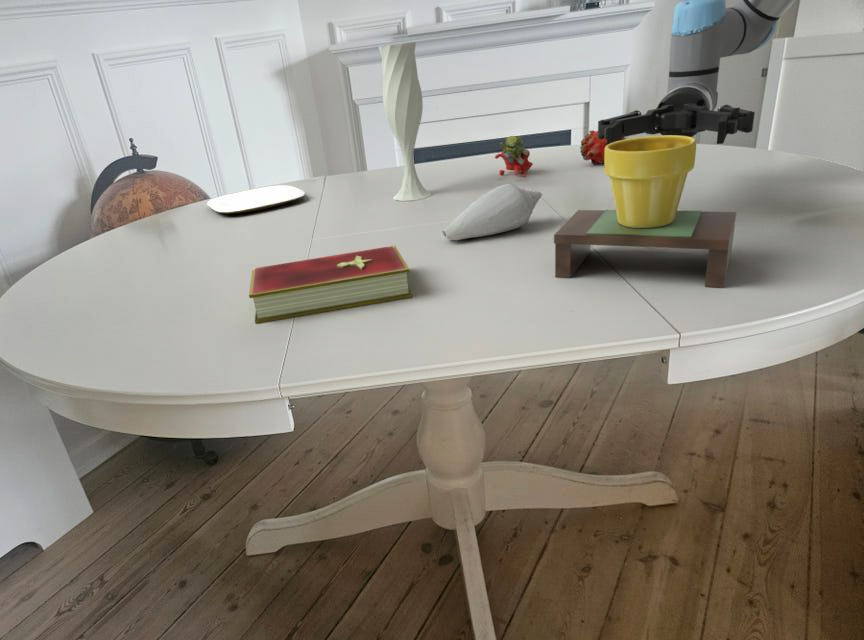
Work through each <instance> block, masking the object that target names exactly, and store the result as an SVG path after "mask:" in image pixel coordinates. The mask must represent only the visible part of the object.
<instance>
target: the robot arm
mask: <svg viewBox="0 0 864 640" xmlns="http://www.w3.org/2000/svg"><path fill="white" fill-rule="evenodd" d="M796 1H797V0H735V1H734V2H733V3H732V4H731V5H730V6H729V7H727V6H726V0H681V1H679V2H678V3H677V4H676V6H675V7H674V10H673V18H672V26H671V28H670V34H671V35H670V50H669V66H668V78H667V81H668V82H667V92H666V95H665V96H663V98H661V100H660V101H659V103H658V104H657V106H656V108H653V109H649V110H647V111H646V113H645V114H642V112H641V111H640V110H637V109H636V110H633V111H631V112H629V113H625V114H621V115H617V116H613V117H608V118H605V119H600V120H598V121H597V131H598V139H607V145H608V144H610V143H613V142H616V141H620V140H622V137H625V138H626V137H630V136H636V135H641V134H646V135H658V134H660V136H661V135H677V136H688V137H692V138H693V137H694V136H695V135H697V134H698V133H703V132H706V131H708V132H716V133H717V137H716V145H723V144H724V143H725V141H726V139H727V136H728V135H734V134H737V133H738V132H742V133H745V134H748V133H751V132H752V133H753V130H754V129H753V128H754V121H755V115H756V114H755V113H756V111H752V110H747V109H742V108H741V107H733V106H731V105H729V104H724V105H721V106H718V107H717V105H718V98H719V92H718V82H719V71H720V63H721V58H727V57H732V56H737V55H744V54H745V55H746V54H749V53H752V52H754V51H756V50H758V49H760V48H761V47H764V46H765V45H766V44H767V43H768V42H769V41H770V40H771V38H772V37H773V36H774V33H775V30H776V28H777V23H778V20H780V18H781V17H782V16H783V15H785V13H786V12H787V11H788V10H789V8H790V7H791V6H792V5H793V4H794V3H795V2H796ZM716 108H717V110H715V109H716Z"/></svg>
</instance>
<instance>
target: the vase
mask: <svg viewBox="0 0 864 640" xmlns="http://www.w3.org/2000/svg"><path fill="white" fill-rule="evenodd" d="M416 45H417V42H416V41H411V42H405V43H397V44H391V45H381V46H378V50H379V52H380V55H381V68H382V79H383V81H382V104H383V110H384V113H385V116H386V117H385V118H386V120H387V122H388V125H389V127H390V130H391V132H392V134H393V136H394V138H395V140H396V142H397V144H398V146H399V149H400V150H401V154H402V159H403V163H404V164H403V178H402V184H401V186H400V188H399V191H398V192H397V193H396V194H395V195H394V196H393V201H398V202H408V201H418V200H423V199H426V198H428V197H430V196H432V192H431V191H429V190H427V189H426V188H425V187H424V185H423V184H422V183H421V181H420V179H419V176H418V173H417V170H416V167H415V159H414V157H415V154H414V152H415V146H416V142H417V137H418V133H419V130H420V129H419V128H420V125H421V122H422V117H423V107H424V105H423V104H424V102H423V94H422V93H423V92H422V88H421V83H420V80H419V75H418V67H417V60H416V54H415V53H416Z"/></svg>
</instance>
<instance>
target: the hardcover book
mask: <svg viewBox="0 0 864 640" xmlns="http://www.w3.org/2000/svg"><path fill="white" fill-rule="evenodd" d="M410 272H411V270H410V267H409V265H407V262H406V261H405V259H404V258H403V256H402V255H401V252H400V251H399V250H398V248H397V246H396V245H390V246H389V245H388V246H384V247H378V248H371V249H365V250H358V251H352V252H347V253H340V254H333V255H328V256H322V257H317V258H316V257H315V258H310V259H303V260H296V261H291V262H285V263H279V264H272V265H266V266H260V267H252V270H251V277H250V283H249V284H250V286H249V293H248V296H249V297H248V298H249V299H253V304H254V308H255V315H254V323H255V324H259V323H268V322H272V321H278V320H283V319H284V320H285V319H290V318H296V317H302V316H308V315H314V314H321V313H326V312H333V311H337V310H344V309H351V308H355V307H361V306H367V305H374V304H379V303H385V302H390V301H396V300H403V299H404V300H405V299H409V298H413V293H412V291H411V289H410V287H409V284H408V283H409V282H408V275H407V274H408V273H410Z"/></svg>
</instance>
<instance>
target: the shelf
mask: <svg viewBox="0 0 864 640" xmlns="http://www.w3.org/2000/svg"><path fill="white" fill-rule="evenodd" d="M737 213H738V212H737V211H703V210H677V212H676V216H675V219H674V221H673V222H672V223H670V224H668V225H665V226H661V227H655V228H631V227H626V226H623V225H621V224H619V222H618V218H617V212H616V209H605V210H603V209H578V210H576V211H575V213H574V214H572V216H570V218H569V219H568V220H567V221H566V222H565V223H564V224H563V225H562V226H561V227H560V228H559V229H558V230H557V231H556V232H555V233H554V234H553V244H554V264H555V265H554V277H555V278H565V279H571V277H572V276H573V275H574V273H575V272H576V271H577V270H578V268H579V267H580V266H581V264H582V263H584V261H585V260H586V258H587V257H588V255H589V254H590V253H591V246H606V247H607V246H610V247H613V246H614V247H633V248H634V247H635V248H636V247H637V248H658V249H659V248H662V249H686V250H687V249H688V250H689V249H690V250H708V252H707V253H708V254H707V264H706V272H705V279H704V280H705V281H704V287H706V288H719V289H720V288H721V289H723V288H725V282H726V278H727V276H728V275H727V274H728V270H729V266H730V261H731V257H732V250H733V249H732V248H733V243H734V242H733V241H734V235H735V227H736V222H737V221H736V219H737Z"/></svg>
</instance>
